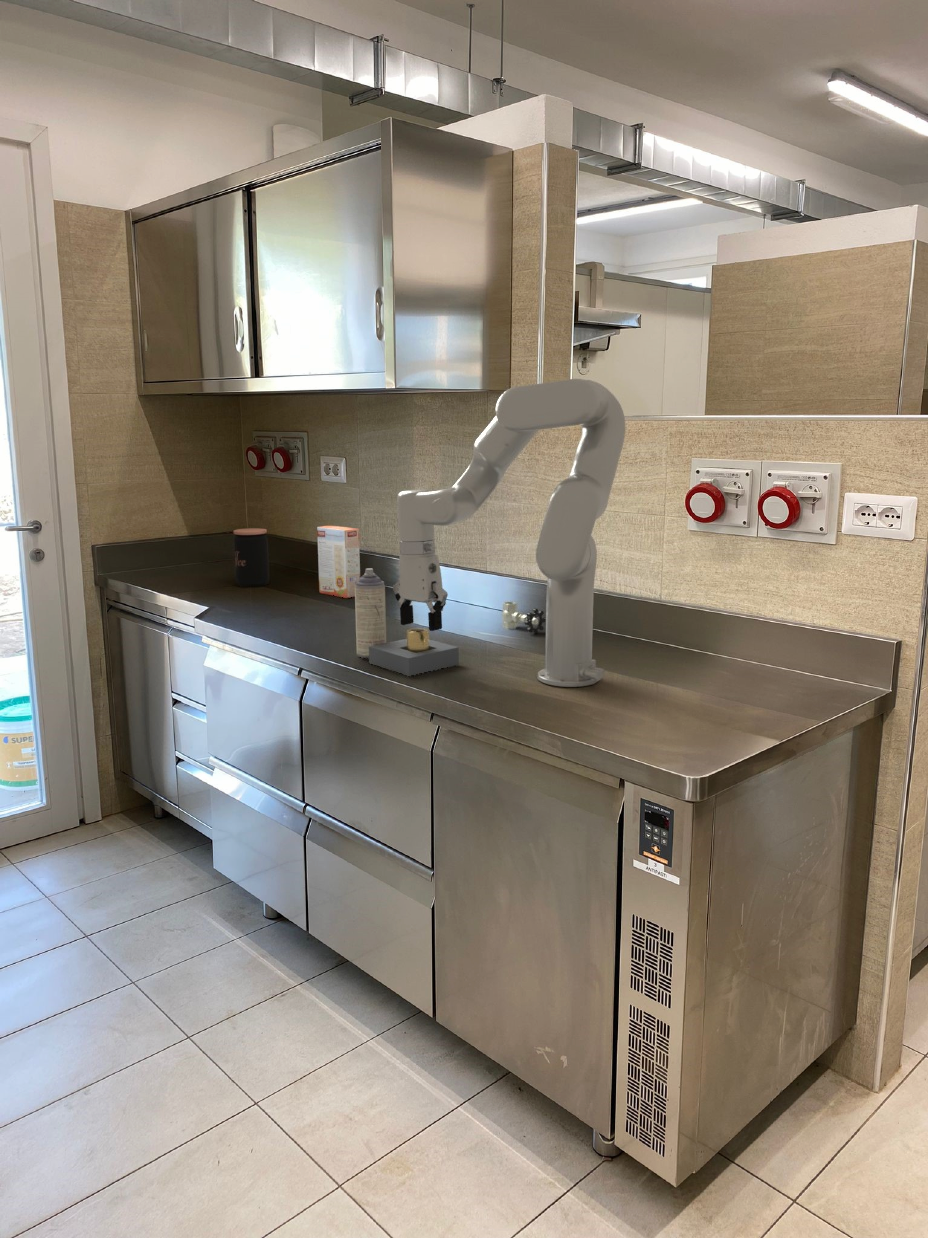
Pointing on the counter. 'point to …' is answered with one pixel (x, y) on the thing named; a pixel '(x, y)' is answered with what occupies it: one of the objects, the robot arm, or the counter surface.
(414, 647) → the brass bushing
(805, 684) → the counter surface
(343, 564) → the cracker box
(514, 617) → the valve
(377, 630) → the aerosol can
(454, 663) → the block
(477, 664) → the counter surface
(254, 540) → the coffee jar
